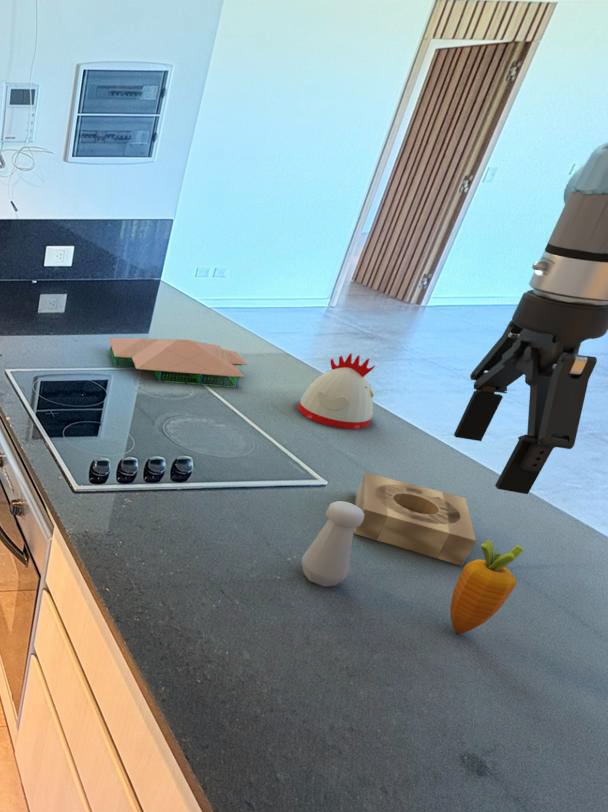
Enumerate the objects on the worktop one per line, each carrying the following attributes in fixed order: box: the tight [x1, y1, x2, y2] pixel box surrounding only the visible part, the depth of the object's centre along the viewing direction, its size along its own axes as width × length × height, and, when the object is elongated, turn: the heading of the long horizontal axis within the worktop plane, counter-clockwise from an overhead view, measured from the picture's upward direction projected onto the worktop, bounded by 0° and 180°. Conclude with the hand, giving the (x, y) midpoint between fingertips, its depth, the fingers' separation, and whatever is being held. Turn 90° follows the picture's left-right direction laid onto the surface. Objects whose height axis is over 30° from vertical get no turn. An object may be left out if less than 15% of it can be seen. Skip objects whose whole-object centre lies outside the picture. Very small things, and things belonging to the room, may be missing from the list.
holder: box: [353, 472, 477, 567], centre depth 103 cm, size 14×14×5 cm
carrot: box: [449, 539, 524, 635], centre depth 80 cm, size 5×5×15 cm
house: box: [108, 337, 248, 388], centre depth 167 cm, size 23×33×8 cm
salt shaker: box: [301, 500, 364, 588], centre depth 90 cm, size 6×6×13 cm
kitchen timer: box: [297, 352, 376, 430], centre depth 139 cm, size 14×14×15 cm
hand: (487, 462), depth 77 cm, fingers open, 13 cm apart
